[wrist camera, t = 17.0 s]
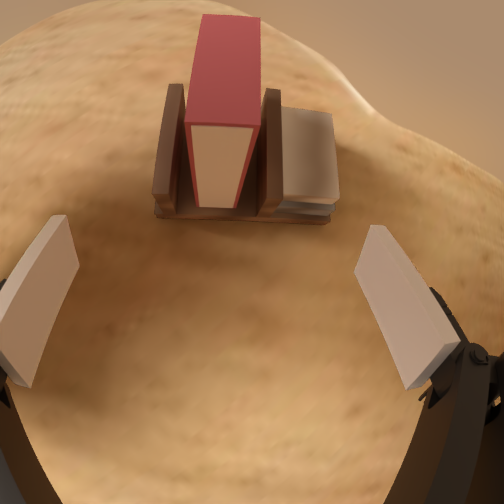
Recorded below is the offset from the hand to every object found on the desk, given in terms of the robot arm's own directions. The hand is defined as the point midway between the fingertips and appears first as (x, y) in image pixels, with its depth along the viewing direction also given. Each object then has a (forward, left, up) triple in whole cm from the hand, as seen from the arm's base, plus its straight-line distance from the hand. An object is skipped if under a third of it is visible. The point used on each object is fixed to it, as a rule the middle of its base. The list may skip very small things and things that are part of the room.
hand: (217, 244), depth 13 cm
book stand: (-3, +10, -15) cm, 18 cm away
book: (-5, +8, -14) cm, 17 cm away
